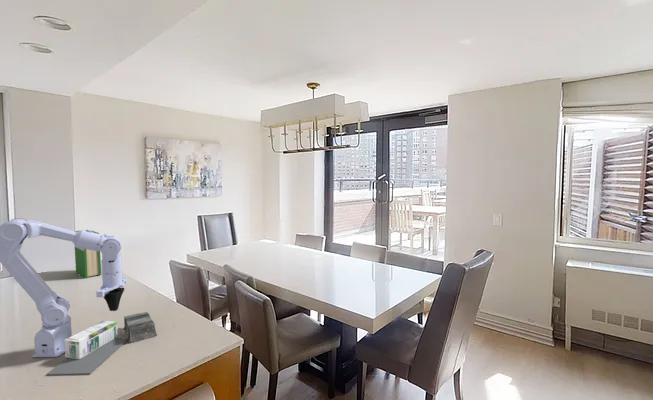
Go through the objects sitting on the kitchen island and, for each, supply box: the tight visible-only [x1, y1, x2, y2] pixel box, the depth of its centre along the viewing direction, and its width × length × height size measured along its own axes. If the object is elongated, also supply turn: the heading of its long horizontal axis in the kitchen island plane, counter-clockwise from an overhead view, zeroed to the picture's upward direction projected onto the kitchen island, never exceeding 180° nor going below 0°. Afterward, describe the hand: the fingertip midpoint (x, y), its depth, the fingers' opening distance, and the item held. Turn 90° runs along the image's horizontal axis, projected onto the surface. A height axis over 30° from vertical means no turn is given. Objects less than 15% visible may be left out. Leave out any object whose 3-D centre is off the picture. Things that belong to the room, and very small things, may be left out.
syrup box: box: [64, 320, 119, 359], centre depth 109 cm, size 6×6×14 cm
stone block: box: [123, 311, 158, 344], centre depth 121 cm, size 9×14×5 cm, turn 38°
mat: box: [45, 337, 130, 376], centre depth 105 cm, size 20×12×1 cm, turn 3°
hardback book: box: [74, 229, 102, 279], centre depth 190 cm, size 18×7×24 cm, turn 50°
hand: (113, 310), depth 117 cm, fingers closed
